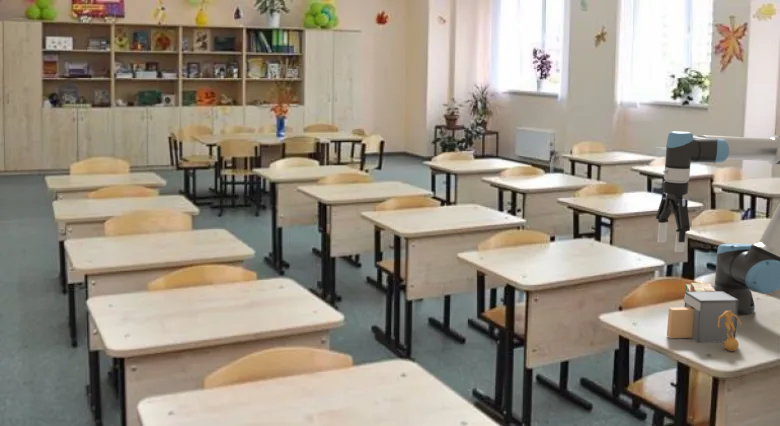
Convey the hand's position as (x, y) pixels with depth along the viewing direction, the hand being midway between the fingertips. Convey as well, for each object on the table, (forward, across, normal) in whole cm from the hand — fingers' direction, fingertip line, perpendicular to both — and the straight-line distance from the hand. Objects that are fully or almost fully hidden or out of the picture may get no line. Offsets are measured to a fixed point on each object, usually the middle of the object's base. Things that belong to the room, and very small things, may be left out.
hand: (670, 247), depth 270 cm
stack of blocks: (+26, -5, +14) cm, 30 cm away
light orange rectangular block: (+25, +13, +3) cm, 29 cm away
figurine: (+26, +24, +10) cm, 37 cm away
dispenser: (+26, +12, +9) cm, 30 cm away
